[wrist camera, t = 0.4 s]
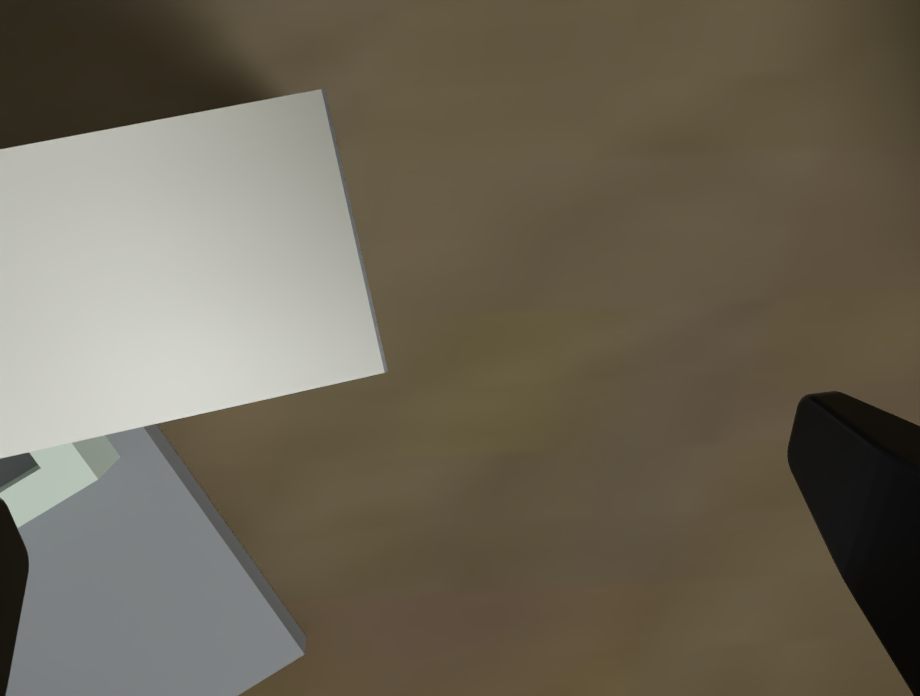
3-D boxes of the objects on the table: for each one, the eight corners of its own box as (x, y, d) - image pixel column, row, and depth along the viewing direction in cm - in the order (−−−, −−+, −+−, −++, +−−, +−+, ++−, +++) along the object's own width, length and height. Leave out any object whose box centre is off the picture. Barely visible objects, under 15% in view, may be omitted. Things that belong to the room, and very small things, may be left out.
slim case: (340, 156, 23) (323, 84, 11) (370, 295, 24) (388, 375, 12) (125, 198, 22) (-148, 172, 10) (164, 339, 23) (-48, 472, 11)
